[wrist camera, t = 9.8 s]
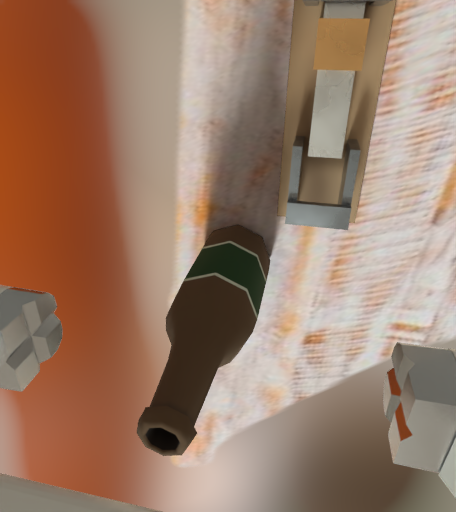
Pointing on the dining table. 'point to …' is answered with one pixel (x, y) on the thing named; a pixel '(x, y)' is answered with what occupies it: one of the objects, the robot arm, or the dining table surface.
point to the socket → (374, 0)
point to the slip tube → (336, 74)
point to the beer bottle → (205, 333)
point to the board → (302, 100)
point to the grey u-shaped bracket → (322, 212)
